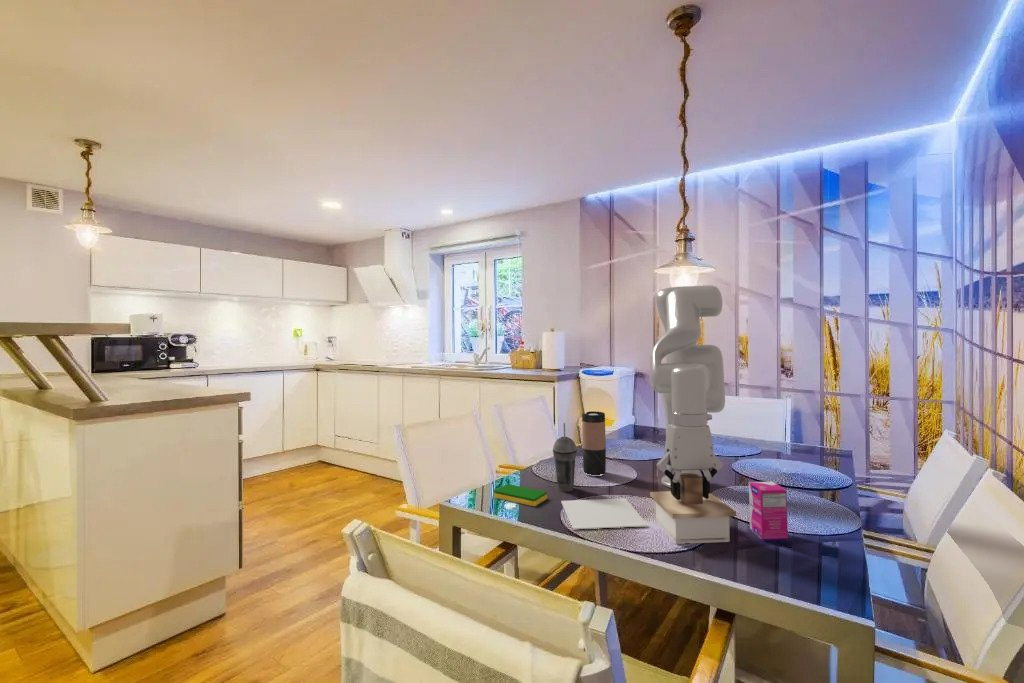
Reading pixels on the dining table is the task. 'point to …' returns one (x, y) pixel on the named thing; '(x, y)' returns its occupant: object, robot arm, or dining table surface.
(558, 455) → the beverage cup
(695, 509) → the lid
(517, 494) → the dish sponge
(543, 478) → the dining table surface
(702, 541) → the white open box
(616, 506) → the mat
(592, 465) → the travel mug
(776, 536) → the supplement box
